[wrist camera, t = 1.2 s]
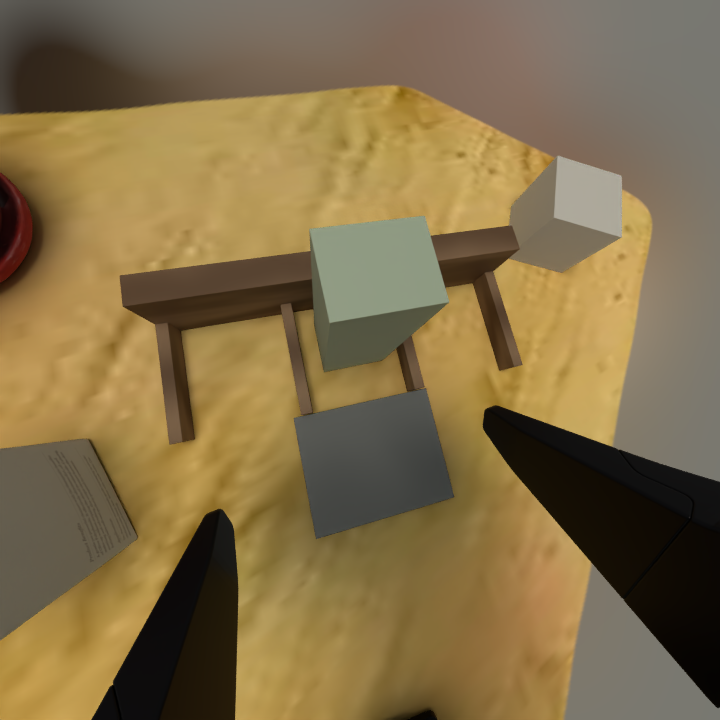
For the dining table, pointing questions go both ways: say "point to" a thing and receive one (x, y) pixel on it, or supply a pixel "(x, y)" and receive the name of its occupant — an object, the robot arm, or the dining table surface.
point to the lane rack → (297, 307)
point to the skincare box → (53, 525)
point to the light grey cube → (567, 215)
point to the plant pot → (13, 228)
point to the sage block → (372, 288)
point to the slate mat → (371, 461)
